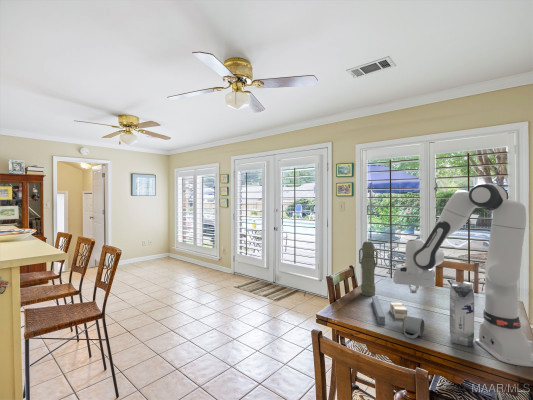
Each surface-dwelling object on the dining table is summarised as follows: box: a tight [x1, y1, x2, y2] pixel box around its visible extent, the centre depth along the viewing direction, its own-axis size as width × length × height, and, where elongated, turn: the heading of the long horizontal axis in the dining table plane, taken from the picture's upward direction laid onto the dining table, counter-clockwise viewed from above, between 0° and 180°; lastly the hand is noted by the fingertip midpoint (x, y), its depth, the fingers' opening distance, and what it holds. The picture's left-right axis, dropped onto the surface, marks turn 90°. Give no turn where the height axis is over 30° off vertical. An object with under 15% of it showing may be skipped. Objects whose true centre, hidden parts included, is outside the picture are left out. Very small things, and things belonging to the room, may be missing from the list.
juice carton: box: [449, 280, 475, 348], centre depth 124 cm, size 9×10×27 cm
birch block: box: [389, 301, 408, 320], centre depth 153 cm, size 10×6×5 cm, turn 172°
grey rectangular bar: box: [371, 295, 386, 326], centre depth 155 cm, size 30×3×4 cm, turn 165°
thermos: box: [358, 241, 379, 297], centre depth 184 cm, size 9×12×35 cm
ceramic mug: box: [402, 315, 425, 339], centre depth 131 cm, size 11×8×8 cm
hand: (413, 293), depth 151 cm, fingers closed
